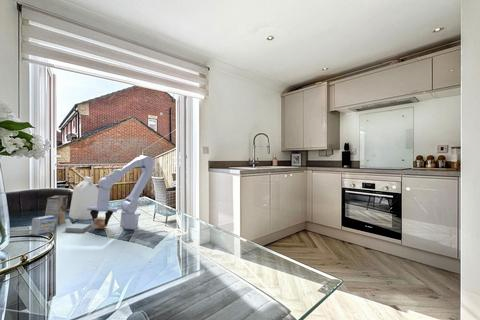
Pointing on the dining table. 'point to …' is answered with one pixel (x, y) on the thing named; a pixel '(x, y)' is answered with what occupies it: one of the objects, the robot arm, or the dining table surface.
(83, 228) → the top block
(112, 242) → the dining table surface
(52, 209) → the coffee box
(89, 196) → the milk
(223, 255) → the dining table surface
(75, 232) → the bottom block
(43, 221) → the medicine box
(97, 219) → the terracotta cube
